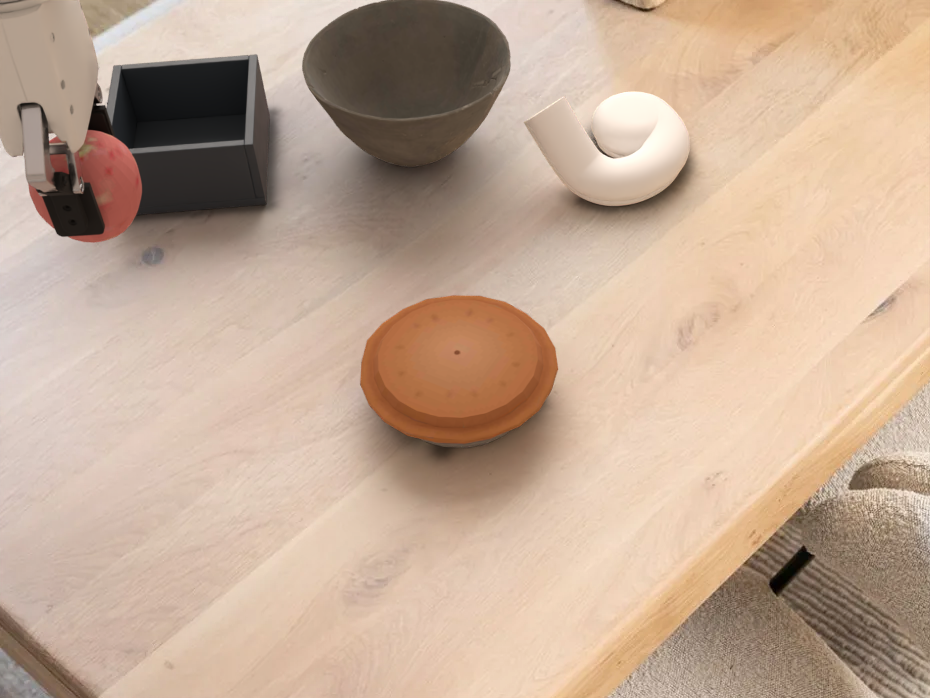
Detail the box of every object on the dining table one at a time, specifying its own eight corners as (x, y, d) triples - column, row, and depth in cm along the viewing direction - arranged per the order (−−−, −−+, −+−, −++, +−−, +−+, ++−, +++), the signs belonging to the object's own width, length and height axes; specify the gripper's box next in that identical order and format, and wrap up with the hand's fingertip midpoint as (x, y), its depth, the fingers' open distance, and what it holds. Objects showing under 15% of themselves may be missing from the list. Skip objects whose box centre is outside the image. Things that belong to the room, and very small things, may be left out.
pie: (515, 305, 105) (514, 261, 101) (586, 436, 97) (589, 394, 93) (341, 355, 103) (333, 312, 99) (398, 495, 94) (392, 454, 90)
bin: (118, 216, 114) (98, 156, 109) (131, 125, 122) (113, 65, 117) (266, 204, 114) (253, 144, 109) (269, 114, 123) (257, 53, 117)
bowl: (477, 228, 112) (472, 136, 104) (286, 189, 116) (268, 98, 108) (538, 105, 122) (538, 13, 114) (362, 73, 126) (350, -18, 118)
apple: (160, 192, 91) (133, 100, 85) (147, 261, 87) (117, 170, 80) (59, 196, 91) (25, 104, 85) (41, 266, 87) (3, 174, 80)
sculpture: (720, 151, 117) (731, 79, 110) (619, 233, 110) (624, 161, 104) (620, 100, 122) (625, 28, 116) (519, 175, 116) (517, 103, 109)
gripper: (-32, -118, 77) (54, 119, 91) (-93, 45, 67) (15, 284, 81) (89, -125, 77) (156, 113, 92) (47, 37, 67) (130, 277, 81)
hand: (89, 191), depth 86 cm, fingers closed on apple, 7 cm apart
